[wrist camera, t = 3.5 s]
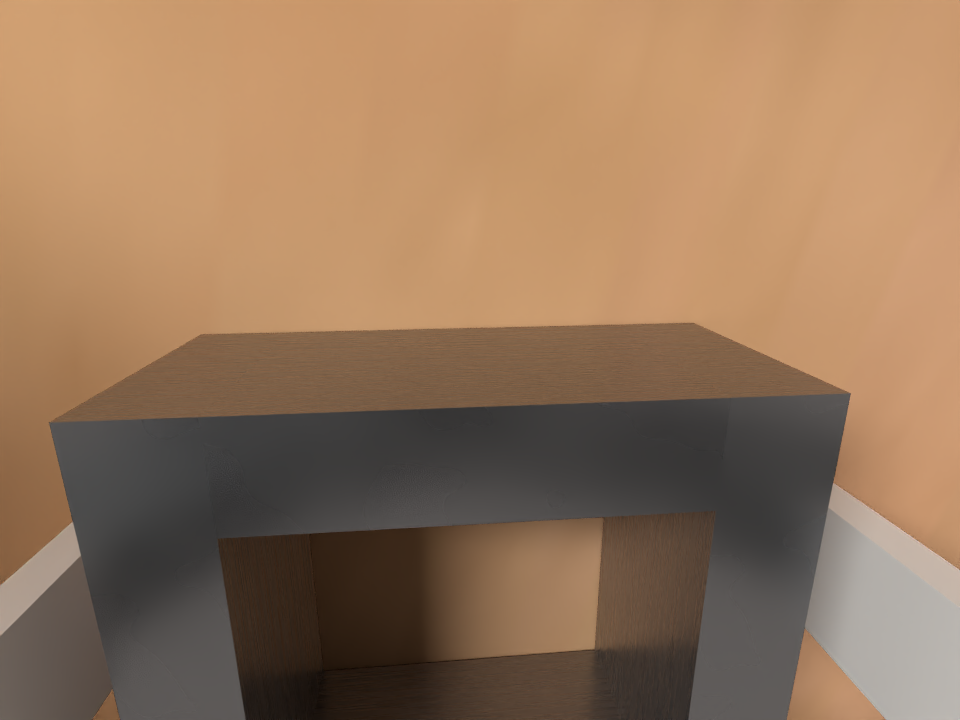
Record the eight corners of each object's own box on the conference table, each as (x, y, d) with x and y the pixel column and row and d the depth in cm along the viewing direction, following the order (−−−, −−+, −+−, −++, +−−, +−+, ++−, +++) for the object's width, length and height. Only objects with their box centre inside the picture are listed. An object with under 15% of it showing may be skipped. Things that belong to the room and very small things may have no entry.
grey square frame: (259, 730, 12) (181, 976, 8) (201, 334, 10) (49, 422, 6) (653, 696, 13) (749, 906, 9) (693, 322, 10) (850, 393, 7)
